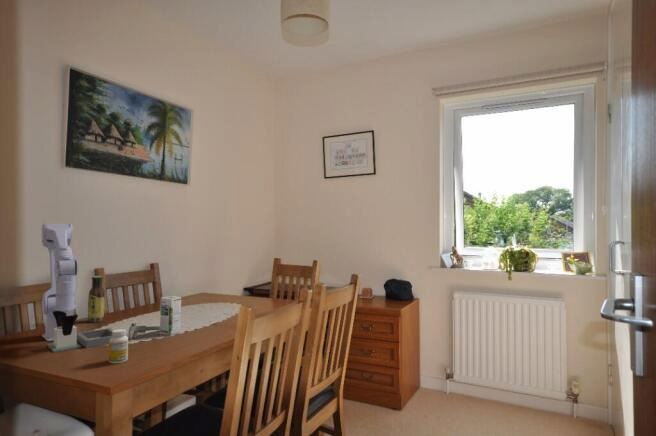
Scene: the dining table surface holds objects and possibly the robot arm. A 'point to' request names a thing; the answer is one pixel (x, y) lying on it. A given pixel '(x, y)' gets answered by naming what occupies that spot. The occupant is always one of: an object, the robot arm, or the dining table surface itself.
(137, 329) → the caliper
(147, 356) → the dining table surface
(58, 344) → the block
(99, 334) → the grey square frame
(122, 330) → the supplement bottle
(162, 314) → the syrup box
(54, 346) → the rubber mat
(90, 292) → the sauce bottle
